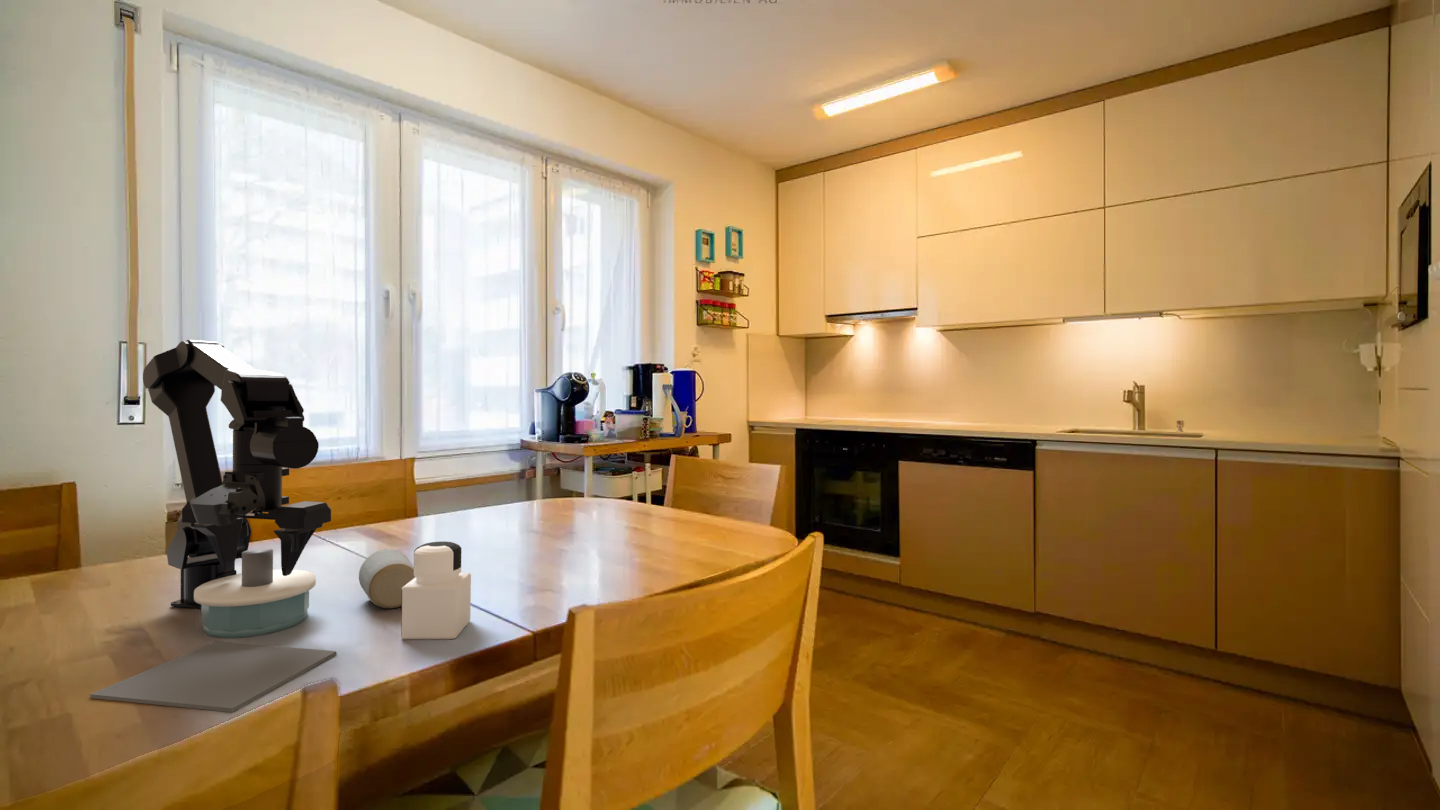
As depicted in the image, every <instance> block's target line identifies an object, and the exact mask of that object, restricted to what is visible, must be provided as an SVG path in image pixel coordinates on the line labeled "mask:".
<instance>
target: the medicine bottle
mask: <svg viewBox="0 0 1440 810" xmlns="http://www.w3.org/2000/svg"><path fill="white" fill-rule="evenodd" d="M413 567H414V576H415V578H414V579H413V580H411V581H410V582H409V583H407V584H406V585H405V586H403V587H402V604H401V606H400V607H401V608H400V609H401V610H400V611H401V612H400V613H401V617H400V618H401V622H400V624H401V625H400V638H401V639H402V640H455V639H456V638H457V637H458V636H459V635H460V633H461V632H462V631H463V630H464V628H465V627H466V626H467V625H468V624H469V623H470V621H471V604H472V603H471V601H472V600H471V596H472V594H471V593H472V592H471V590H472V588H471V587H472V574H471V572H462V547H461V546H460V545H459V544H457V543H455V542H453V541H433V542H426V543H423V544H422V545H420V546H417V547H416V548H415V549H414V551H413Z"/></svg>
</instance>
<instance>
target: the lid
mask: <svg viewBox="0 0 1440 810" xmlns="http://www.w3.org/2000/svg"><path fill="white" fill-rule="evenodd" d="M316 576H317V575H316V574H315V573H313V572H311V571H308V570H303V569H301V570H300V569H293V570H292V572H291V574H290V575H287V576H283V575H282V569H274V549H273V548H268V547H267V548H265V547H264V548H263V547H262V548H253V549H248V550H247V551H244V552H242V558H241V573H236V575H231V576H227V577H223V578H219V579H215V580H212V581H209V582H207V583H204V584H202V585H200V586H198V587H197V588H196V589H195V590H194V601H195V602H196V603H198V604H201V605H206V606H218V607H229V606H245V605H254V604H261V603H268V602H273V601H278V600H282V599H286V598H290V597H293V596H296V595H299V594H302V593H304V592H307V591H309V592H310V591H311V590H312V589H313V588H314V587H315V586H316V584H317V583H316V580H317V579H316V578H317V577H316Z"/></svg>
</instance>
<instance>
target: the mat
mask: <svg viewBox="0 0 1440 810" xmlns="http://www.w3.org/2000/svg"><path fill="white" fill-rule="evenodd" d="M334 656H337V651H336V650H328V649H327V650H326V649H313V648H303V647H301V648H300V647H293V646H292V647H290V646H280V645H279V646H278V645H267V644H255V643H254V644H253V643H243V642H232V641H231V642H230V641H218V640H217V641H216V640H215V641H213V642H210V643H208V644H206V645H204V646H201V647H200V648H197V649H196V648H195V649H194V650H191V651H189V652H186V653H185V654H183V655H180V656H177V657H175V658H173V659H171V660H168V661H166V662H164V663H161V664H159V665H156V666H154V667H151V668H149V669H146V670H145V671H142V672H140V673H137V674H135V675H132V676H130V677H128V678H126V679H123V680H121V681H118V682H116V683H114V684H111V685H109V686H106V687H104V688H101V689H99V690H97V691H94V692H93V693H90V694H89V699H97V700H98V699H99V700H108V701H116V702H127V703H135V704H136V703H137V704H145V705H146V704H148V705H158V706H166V707H177V708H178V707H179V708H188V709H198V710H205V711H207V710H208V711H218V712H227V713H228V712H229V713H234V712H235V711H237V710H239V709H240V708H242V707H245V706H246V705H248V704H250V703H252V702H254V701H256V700H257V699H259V698H261V697H263V696H264V695H266V694H268V693H270V692H272V691H273V690H276V689H277V688H279V687H281V686H282V685H284V684H286V683H288V682H290V681H291V680H294V679H296V678H297V677H298V676H300V675H302V674H304V673H305V672H307V671H309V670H311V669H313V668H315V667H316V666H318V665H320V664H321V663H324V662H326V661H327V660H329V659H331V658H332V657H334Z"/></svg>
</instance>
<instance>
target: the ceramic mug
mask: <svg viewBox="0 0 1440 810" xmlns="http://www.w3.org/2000/svg"><path fill="white" fill-rule="evenodd" d="M414 578H415V576H414V564H412V561H410V559H409V557H408V556H407V555H406V554H404V553H403V552H402V551H399V550H397V549H392V548H387V549H381V550H377V551H375V552H373V553H371V554H369V556H368V557H366V559H364V561H363V562H362V564H361V566H360V568H359V573H358V581H359V584H360V587H361V588H362V590H363V592H364V593H365V594H366V596H367V598H368V599H369V600H370V601H371V603H373V604H374V605H375V606H377V607H381V608H383V609H396V608H400V607H401V604H402V587H403V586H405V585H406V584H407V583H409V582H410V581H411V580H413V579H414Z"/></svg>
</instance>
